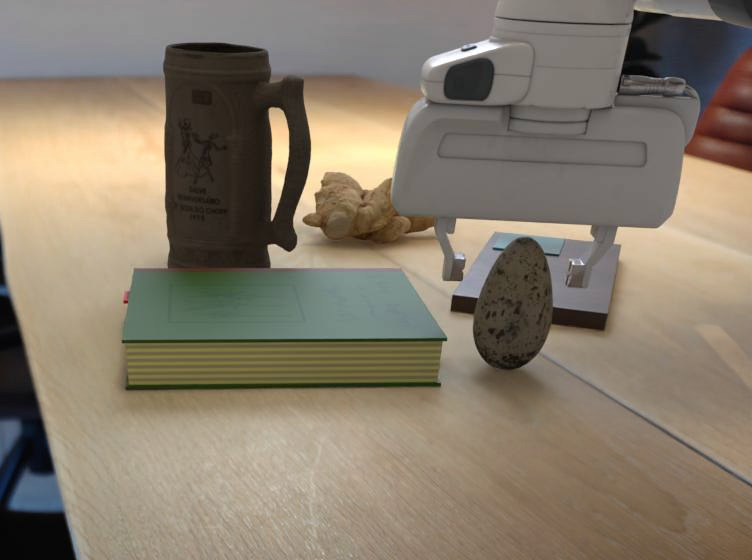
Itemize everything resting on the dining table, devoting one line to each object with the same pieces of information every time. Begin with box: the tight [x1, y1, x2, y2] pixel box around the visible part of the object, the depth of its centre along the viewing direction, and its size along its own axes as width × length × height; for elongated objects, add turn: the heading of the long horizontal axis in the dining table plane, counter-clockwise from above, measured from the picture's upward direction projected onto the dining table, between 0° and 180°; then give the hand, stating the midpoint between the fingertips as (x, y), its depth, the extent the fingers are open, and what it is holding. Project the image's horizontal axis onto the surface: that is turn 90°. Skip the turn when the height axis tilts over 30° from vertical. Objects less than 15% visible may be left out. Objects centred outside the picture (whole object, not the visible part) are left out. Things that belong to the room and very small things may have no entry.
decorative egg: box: [472, 237, 553, 371], centre depth 71 cm, size 6×6×10 cm
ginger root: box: [301, 171, 435, 244], centre depth 105 cm, size 16×16×8 cm
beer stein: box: [162, 41, 312, 268], centre depth 88 cm, size 15×11×20 cm
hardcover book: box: [121, 267, 448, 390], centre depth 76 cm, size 25×19×4 cm
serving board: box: [449, 231, 622, 331], centre depth 93 cm, size 26×14×2 cm, turn 160°
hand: (513, 282), depth 70 cm, fingers open, 8 cm apart
